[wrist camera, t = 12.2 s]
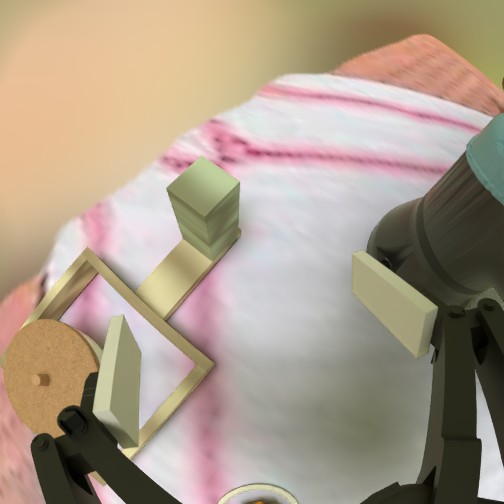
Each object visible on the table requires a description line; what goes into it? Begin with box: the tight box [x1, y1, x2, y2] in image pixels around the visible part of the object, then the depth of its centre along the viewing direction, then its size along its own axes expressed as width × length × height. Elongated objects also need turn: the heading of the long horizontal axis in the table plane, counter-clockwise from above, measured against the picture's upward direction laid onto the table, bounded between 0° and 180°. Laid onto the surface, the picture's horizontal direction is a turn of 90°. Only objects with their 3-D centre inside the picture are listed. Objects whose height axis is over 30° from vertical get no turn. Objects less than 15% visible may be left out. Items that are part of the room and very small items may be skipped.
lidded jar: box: [4, 319, 103, 438], centre depth 23 cm, size 11×11×9 cm
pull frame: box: [0, 156, 241, 486], centre depth 25 cm, size 29×17×11 cm, turn 142°
